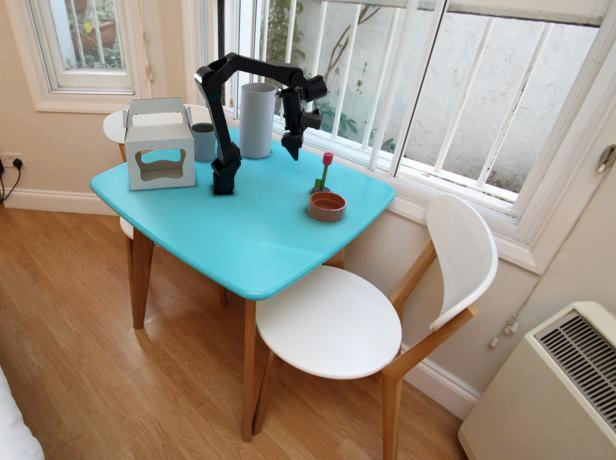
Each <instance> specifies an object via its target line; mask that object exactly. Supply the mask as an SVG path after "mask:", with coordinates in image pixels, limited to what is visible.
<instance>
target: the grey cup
mask: <svg viewBox="0 0 616 460" xmlns="http://www.w3.org/2000/svg"><path fill="white" fill-rule="evenodd" d="M191 128H192V132H193V136H194V160H195V161H196V162H201V163H206V162H212V161H214V160H215V158H216V157H215V156H216V155H215V153H216V147H217V145H216V143H217V140H216V136H215V132H214V129H213V125H212V122H211V123H210V122H197V123H193V124H191Z"/></svg>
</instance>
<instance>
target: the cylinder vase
mask: <svg viewBox="0 0 616 460" xmlns="http://www.w3.org/2000/svg"><path fill="white" fill-rule="evenodd" d="M277 91H278V89H277V86H276V85H275V84H272V83H268V82H249V83H245V84H243V85H241V86H240V103H239V122H238V123H239V125H238V145H237V146H238V147H239V148H240V155H241V157H243V158H247V159H254V160H255V159H256V160H257V159H258V160H259V159H264V158H267V156H269V155H270V153H271V147H272V137H273V127H274V120H275V119H274V118H275V109H276V108H275V107H276V99H277V97H276V96H275V93H276V92H277Z"/></svg>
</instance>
